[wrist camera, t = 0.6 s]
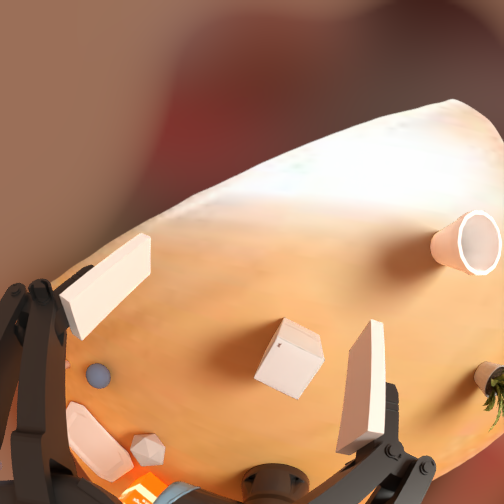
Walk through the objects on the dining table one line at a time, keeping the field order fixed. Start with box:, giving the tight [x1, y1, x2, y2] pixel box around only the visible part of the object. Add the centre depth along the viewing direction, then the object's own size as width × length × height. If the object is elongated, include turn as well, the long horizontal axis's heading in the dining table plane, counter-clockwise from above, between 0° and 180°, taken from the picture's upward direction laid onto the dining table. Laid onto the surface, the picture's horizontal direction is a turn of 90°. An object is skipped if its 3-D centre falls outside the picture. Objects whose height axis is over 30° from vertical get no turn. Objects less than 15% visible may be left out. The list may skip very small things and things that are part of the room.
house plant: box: [474, 362, 504, 431], centre depth 30 cm, size 14×14×16 cm
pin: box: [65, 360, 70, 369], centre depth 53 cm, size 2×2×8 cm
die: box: [130, 434, 165, 466], centre depth 48 cm, size 8×9×10 cm
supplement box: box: [254, 317, 325, 400], centre depth 41 cm, size 7×7×13 cm
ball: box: [86, 363, 111, 389], centre depth 51 cm, size 6×6×6 cm
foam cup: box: [430, 210, 502, 275], centre depth 36 cm, size 10×9×13 cm
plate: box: [66, 401, 134, 482], centre depth 55 cm, size 25×25×2 cm
